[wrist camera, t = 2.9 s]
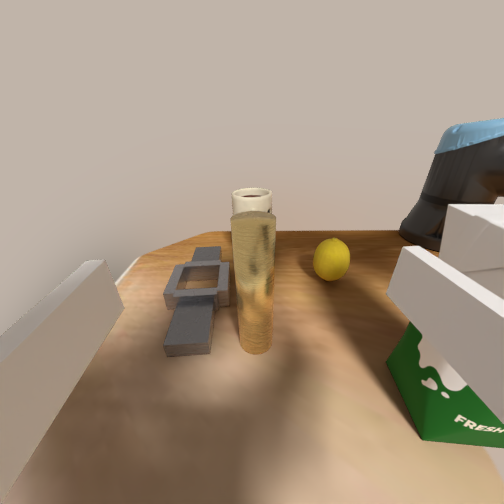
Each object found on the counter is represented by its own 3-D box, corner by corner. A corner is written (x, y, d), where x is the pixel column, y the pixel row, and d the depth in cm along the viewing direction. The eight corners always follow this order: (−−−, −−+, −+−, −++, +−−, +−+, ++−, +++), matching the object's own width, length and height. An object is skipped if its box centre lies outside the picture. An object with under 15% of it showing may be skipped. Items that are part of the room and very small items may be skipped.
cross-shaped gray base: (231, 254, 46) (230, 241, 44) (227, 352, 26) (225, 335, 24) (187, 256, 46) (185, 243, 44) (149, 358, 26) (142, 340, 24)
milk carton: (416, 453, 18) (612, 216, 8) (373, 352, 25) (443, 170, 16) (538, 466, 17) (932, 220, 7) (455, 358, 25) (585, 169, 15)
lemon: (303, 277, 38) (308, 236, 34) (326, 267, 41) (333, 227, 37) (328, 295, 34) (337, 250, 30) (352, 283, 37) (362, 240, 33)
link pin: (269, 326, 29) (272, 210, 21) (274, 353, 26) (279, 226, 18) (239, 328, 29) (231, 211, 21) (240, 355, 26) (229, 228, 18)
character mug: (274, 270, 41) (276, 200, 34) (235, 272, 40) (230, 202, 34) (267, 242, 50) (268, 184, 44) (236, 244, 50) (232, 185, 43)
